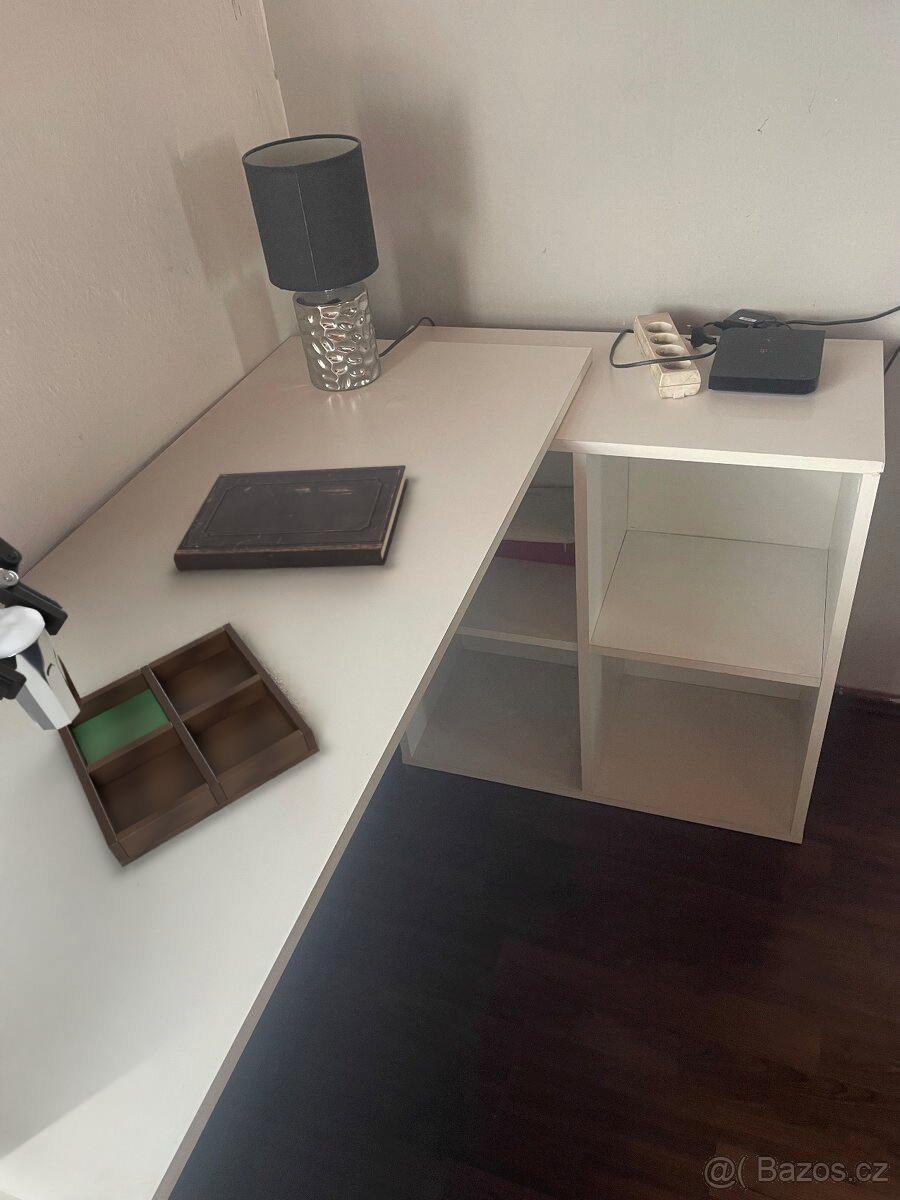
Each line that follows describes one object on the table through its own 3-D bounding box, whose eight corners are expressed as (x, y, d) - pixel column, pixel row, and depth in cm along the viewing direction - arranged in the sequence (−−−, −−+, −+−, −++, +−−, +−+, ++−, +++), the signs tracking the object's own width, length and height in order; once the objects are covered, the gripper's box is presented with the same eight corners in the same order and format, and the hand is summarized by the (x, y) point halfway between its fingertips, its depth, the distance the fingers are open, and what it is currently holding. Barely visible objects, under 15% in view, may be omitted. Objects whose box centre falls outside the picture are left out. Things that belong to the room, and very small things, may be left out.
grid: (122, 867, 66) (108, 847, 65) (63, 733, 78) (50, 713, 76) (319, 751, 73) (312, 729, 71) (238, 642, 84) (229, 621, 82)
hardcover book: (225, 489, 106) (219, 473, 104) (408, 481, 102) (405, 464, 100) (178, 573, 94) (171, 557, 92) (384, 568, 90) (379, 551, 88)
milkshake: (5, 739, 60) (-70, 637, 54) (56, 684, 64) (-8, 581, 57) (55, 754, 59) (-17, 650, 52) (105, 696, 62) (44, 592, 55)
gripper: (-319, 555, 43) (6, 713, 49) (-142, 410, 54) (108, 555, 60) (-331, 632, 48) (-31, 769, 54) (-165, 484, 58) (70, 612, 64)
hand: (41, 655), depth 57 cm, fingers closed on milkshake, 5 cm apart
